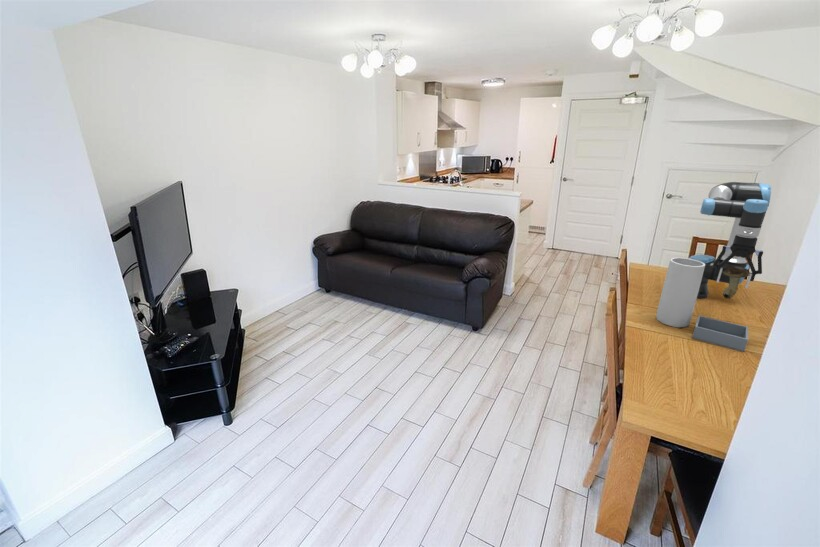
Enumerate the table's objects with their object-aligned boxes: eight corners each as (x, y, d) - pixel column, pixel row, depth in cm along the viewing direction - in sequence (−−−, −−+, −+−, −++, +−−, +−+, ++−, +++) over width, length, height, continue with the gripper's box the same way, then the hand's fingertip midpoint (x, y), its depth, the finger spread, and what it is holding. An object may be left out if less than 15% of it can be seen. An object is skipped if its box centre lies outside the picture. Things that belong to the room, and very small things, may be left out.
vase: (686, 318, 196) (702, 259, 185) (692, 330, 184) (709, 268, 173) (653, 313, 202) (667, 255, 191) (657, 324, 189) (672, 264, 179)
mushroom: (744, 303, 170) (756, 271, 165) (722, 301, 171) (733, 269, 166) (732, 295, 178) (742, 264, 173) (711, 293, 180) (721, 262, 175)
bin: (695, 326, 188) (698, 315, 186) (744, 338, 177) (748, 326, 175) (691, 338, 177) (695, 326, 175) (744, 352, 166) (748, 339, 164)
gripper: (714, 233, 169) (700, 281, 177) (781, 242, 156) (764, 293, 163) (715, 230, 175) (702, 277, 182) (780, 238, 161) (764, 288, 169)
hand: (731, 284), depth 173 cm, fingers closed on mushroom, 9 cm apart
